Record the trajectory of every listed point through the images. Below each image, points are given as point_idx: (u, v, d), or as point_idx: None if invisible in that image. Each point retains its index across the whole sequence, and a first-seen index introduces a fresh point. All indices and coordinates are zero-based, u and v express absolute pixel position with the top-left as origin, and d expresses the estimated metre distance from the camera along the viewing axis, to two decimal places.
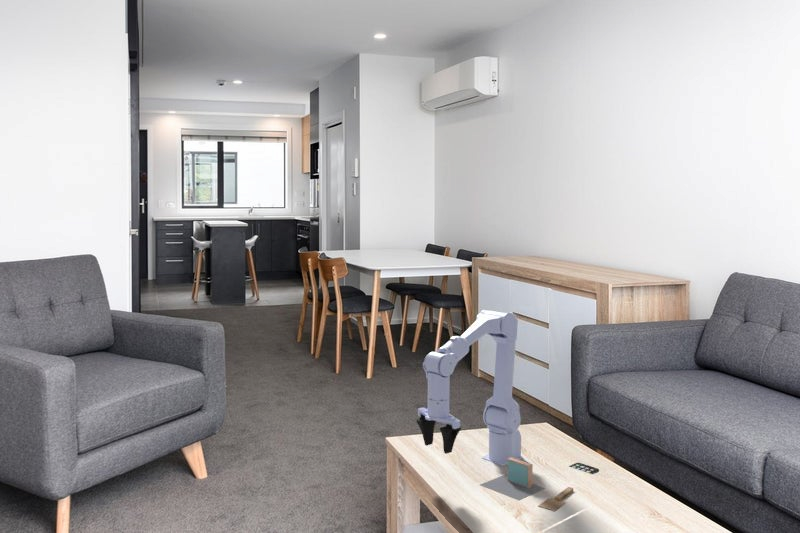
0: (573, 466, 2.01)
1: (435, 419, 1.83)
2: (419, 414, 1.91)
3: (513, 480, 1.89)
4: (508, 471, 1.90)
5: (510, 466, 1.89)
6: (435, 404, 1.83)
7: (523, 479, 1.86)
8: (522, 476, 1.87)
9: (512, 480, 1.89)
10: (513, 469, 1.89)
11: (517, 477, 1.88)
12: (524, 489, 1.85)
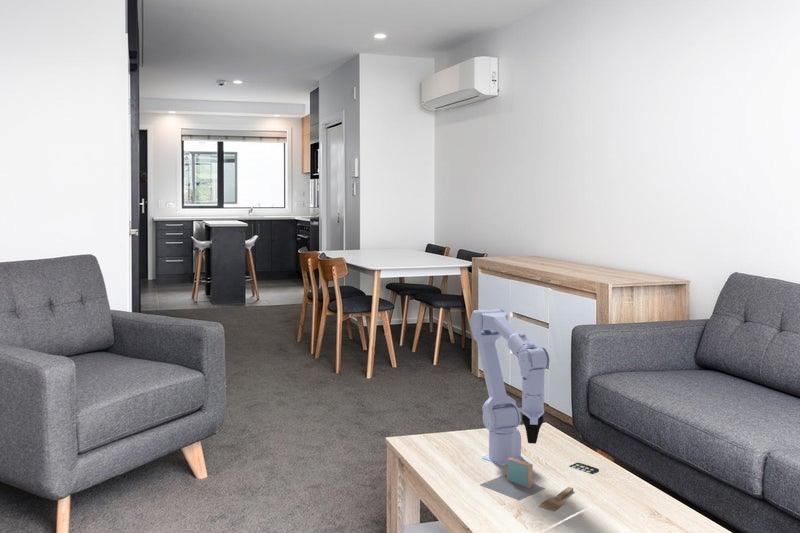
0: (573, 466, 2.01)
1: (523, 412, 1.89)
2: None
3: (513, 480, 1.89)
4: (508, 471, 1.90)
5: (510, 466, 1.89)
6: (524, 397, 1.89)
7: (523, 479, 1.86)
8: (522, 476, 1.87)
9: (512, 480, 1.89)
10: (513, 469, 1.89)
11: (517, 477, 1.88)
12: (524, 489, 1.85)
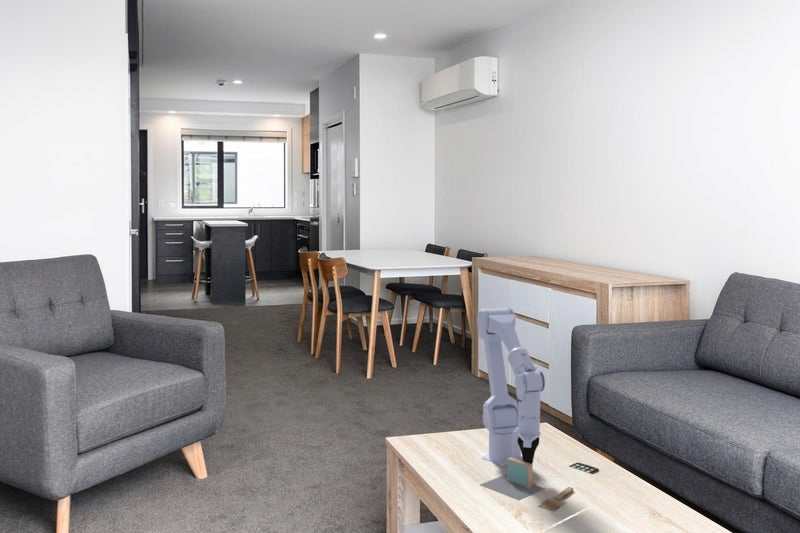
0: (573, 466, 2.01)
1: (518, 434, 1.88)
2: None
3: (513, 480, 1.89)
4: (508, 471, 1.90)
5: (510, 466, 1.89)
6: (519, 419, 1.88)
7: (523, 479, 1.86)
8: (522, 476, 1.87)
9: (512, 480, 1.89)
10: (513, 469, 1.89)
11: (517, 477, 1.88)
12: (524, 489, 1.85)
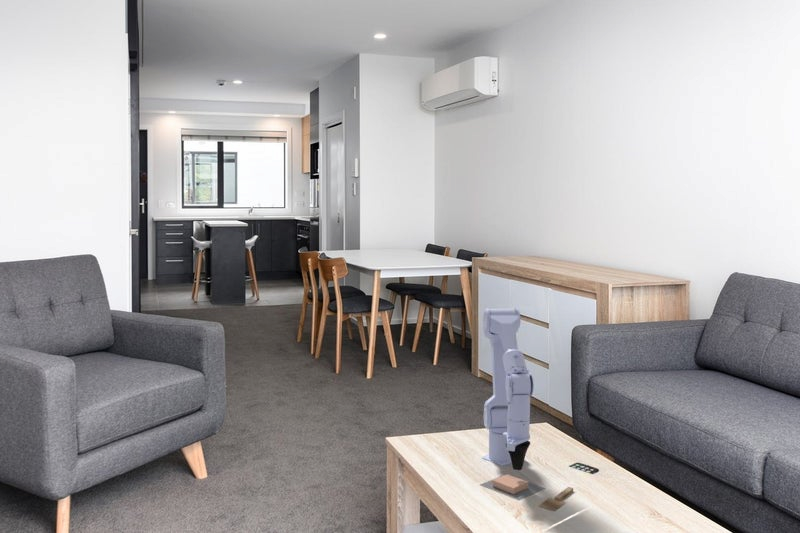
0: (573, 466, 2.01)
1: (506, 437, 1.86)
2: None
3: None
4: None
5: None
6: (507, 422, 1.86)
7: None
8: None
9: None
10: None
11: None
12: (524, 489, 1.85)
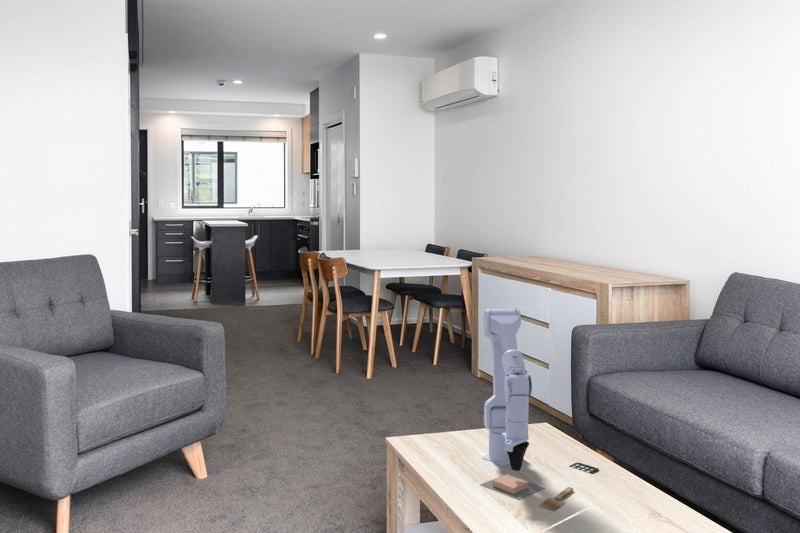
0: (573, 466, 2.01)
1: (505, 437, 1.86)
2: None
3: None
4: None
5: None
6: (506, 423, 1.86)
7: None
8: None
9: None
10: None
11: None
12: (524, 489, 1.85)
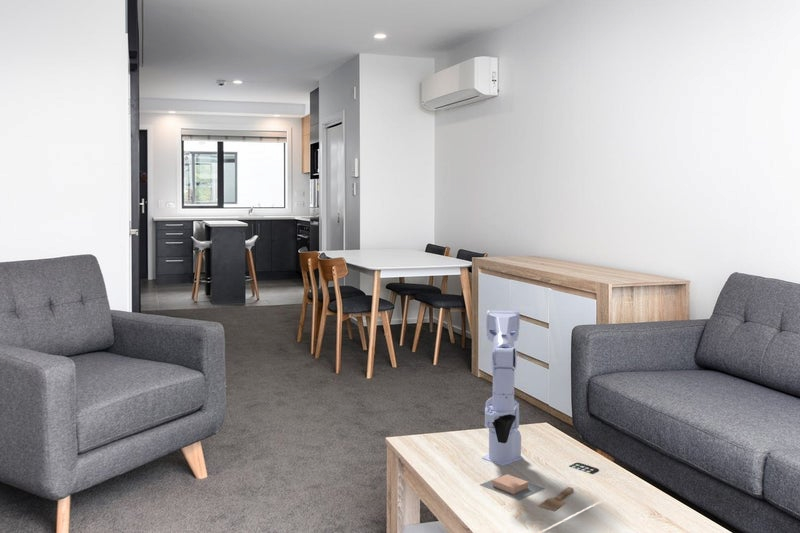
0: (573, 466, 2.01)
1: None
2: None
3: None
4: None
5: None
6: None
7: None
8: None
9: None
10: None
11: None
12: (524, 489, 1.85)
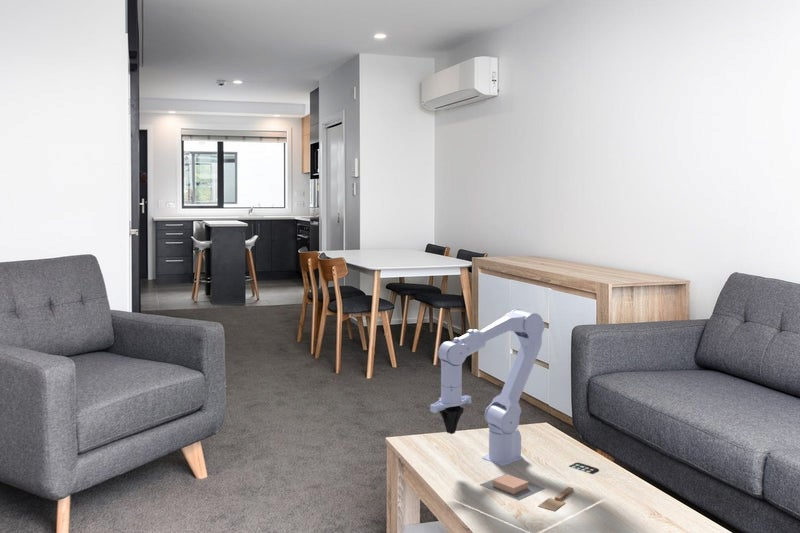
0: (573, 466, 2.01)
1: None
2: None
3: None
4: None
5: None
6: None
7: None
8: None
9: None
10: None
11: None
12: (524, 489, 1.85)
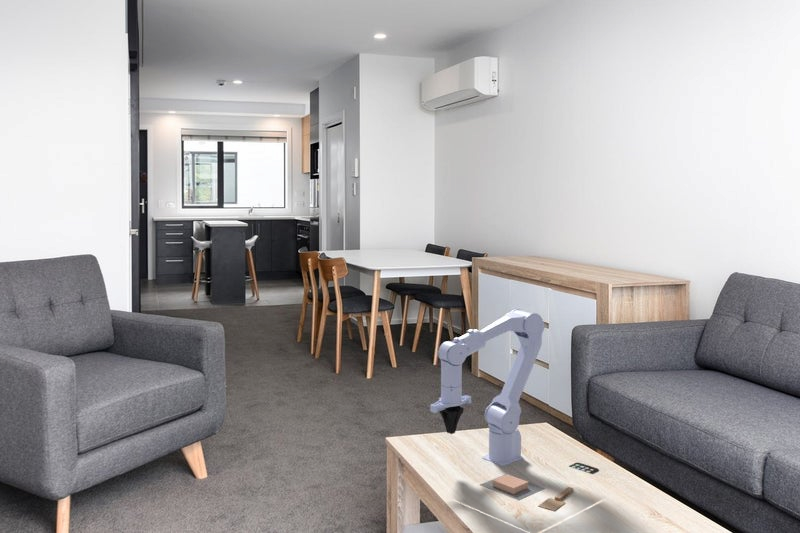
0: (573, 466, 2.01)
1: None
2: None
3: None
4: None
5: None
6: None
7: None
8: None
9: None
10: None
11: None
12: (524, 489, 1.85)
